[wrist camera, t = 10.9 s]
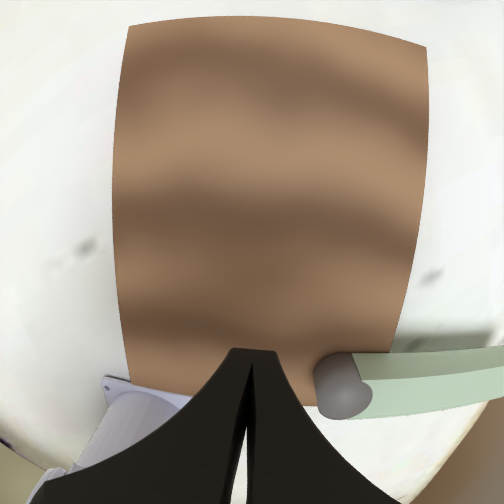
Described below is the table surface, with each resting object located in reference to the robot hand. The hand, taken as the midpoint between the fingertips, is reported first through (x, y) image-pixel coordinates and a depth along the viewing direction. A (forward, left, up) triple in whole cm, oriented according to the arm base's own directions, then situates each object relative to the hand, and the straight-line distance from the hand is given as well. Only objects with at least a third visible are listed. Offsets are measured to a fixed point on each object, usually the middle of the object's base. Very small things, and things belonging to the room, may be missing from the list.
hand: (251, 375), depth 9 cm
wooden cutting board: (+3, 0, -9) cm, 10 cm away
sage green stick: (-5, -11, -7) cm, 14 cm away
